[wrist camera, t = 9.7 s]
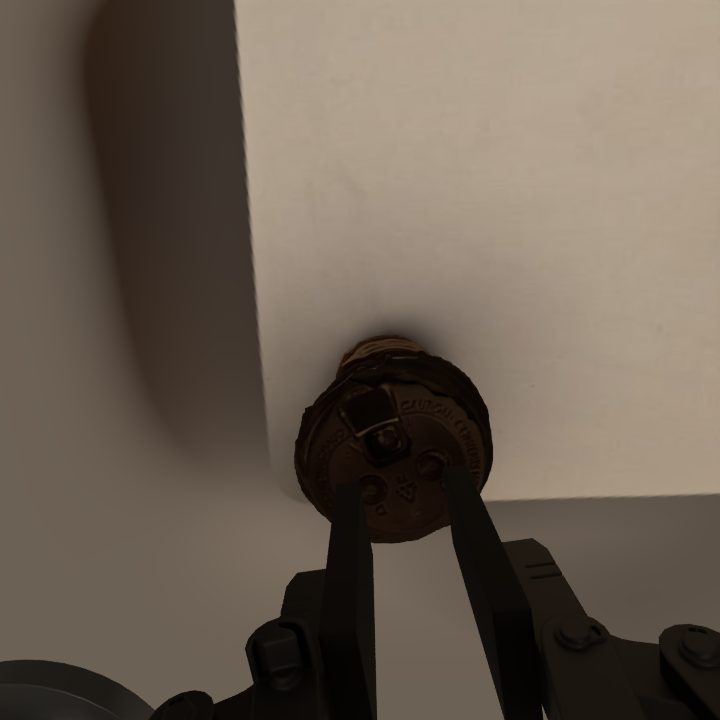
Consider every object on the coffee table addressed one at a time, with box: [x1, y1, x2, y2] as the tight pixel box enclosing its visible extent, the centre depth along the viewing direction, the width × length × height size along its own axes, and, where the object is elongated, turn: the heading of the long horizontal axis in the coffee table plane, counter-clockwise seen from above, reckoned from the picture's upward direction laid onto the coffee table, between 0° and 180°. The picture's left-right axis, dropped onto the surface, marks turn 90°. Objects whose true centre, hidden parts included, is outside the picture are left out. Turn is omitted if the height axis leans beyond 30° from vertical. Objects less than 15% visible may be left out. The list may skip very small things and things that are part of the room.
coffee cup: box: [294, 335, 493, 543], centre depth 26 cm, size 9×8×13 cm
